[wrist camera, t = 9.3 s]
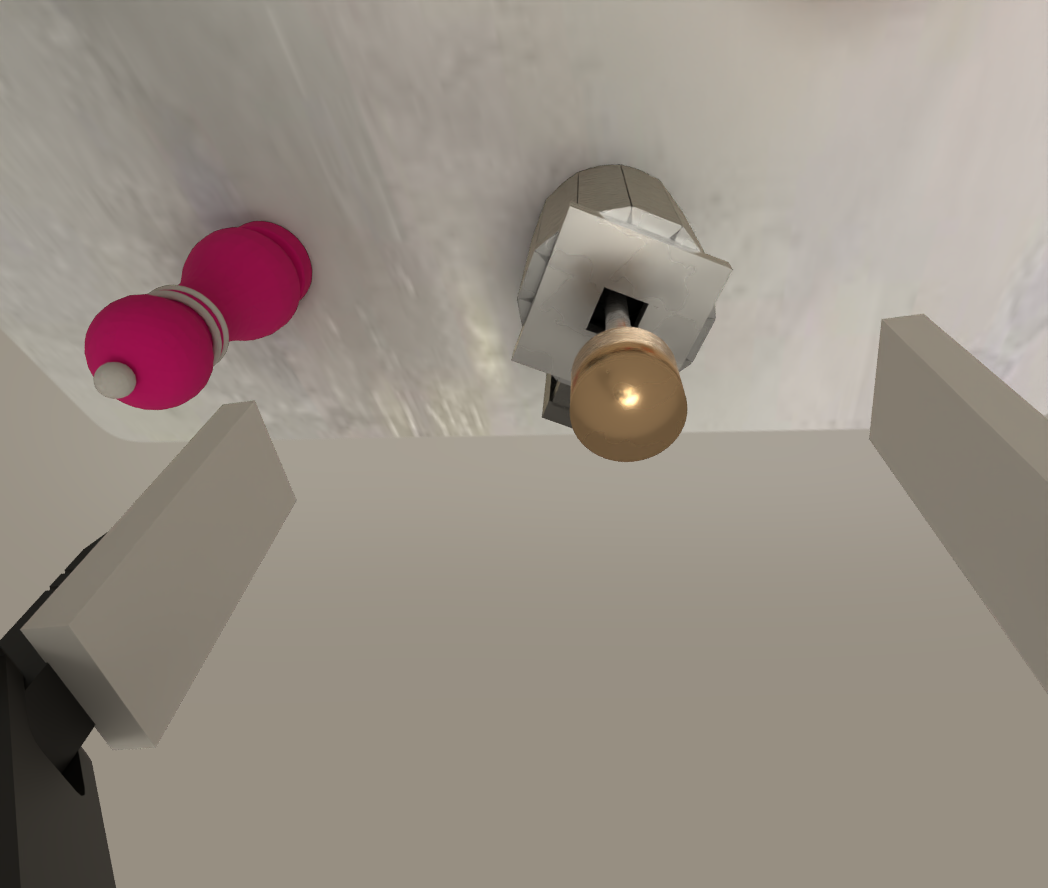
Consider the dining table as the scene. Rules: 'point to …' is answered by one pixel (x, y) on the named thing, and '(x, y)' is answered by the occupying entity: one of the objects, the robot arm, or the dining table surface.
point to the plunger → (625, 387)
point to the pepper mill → (197, 316)
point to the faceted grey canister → (611, 274)
